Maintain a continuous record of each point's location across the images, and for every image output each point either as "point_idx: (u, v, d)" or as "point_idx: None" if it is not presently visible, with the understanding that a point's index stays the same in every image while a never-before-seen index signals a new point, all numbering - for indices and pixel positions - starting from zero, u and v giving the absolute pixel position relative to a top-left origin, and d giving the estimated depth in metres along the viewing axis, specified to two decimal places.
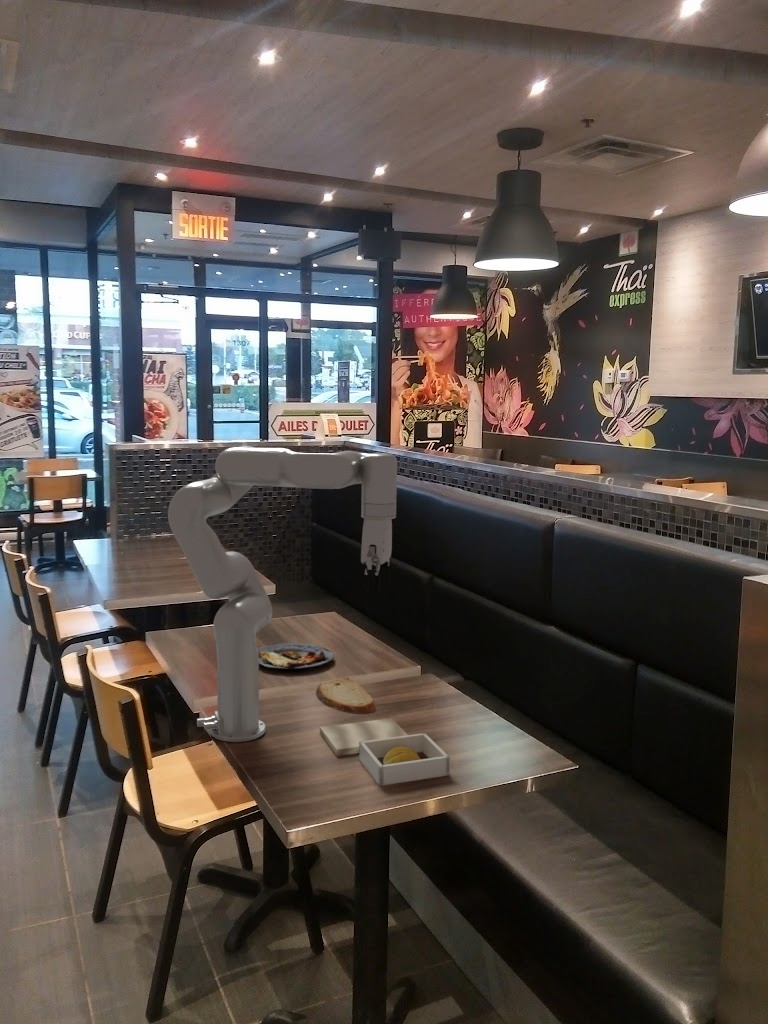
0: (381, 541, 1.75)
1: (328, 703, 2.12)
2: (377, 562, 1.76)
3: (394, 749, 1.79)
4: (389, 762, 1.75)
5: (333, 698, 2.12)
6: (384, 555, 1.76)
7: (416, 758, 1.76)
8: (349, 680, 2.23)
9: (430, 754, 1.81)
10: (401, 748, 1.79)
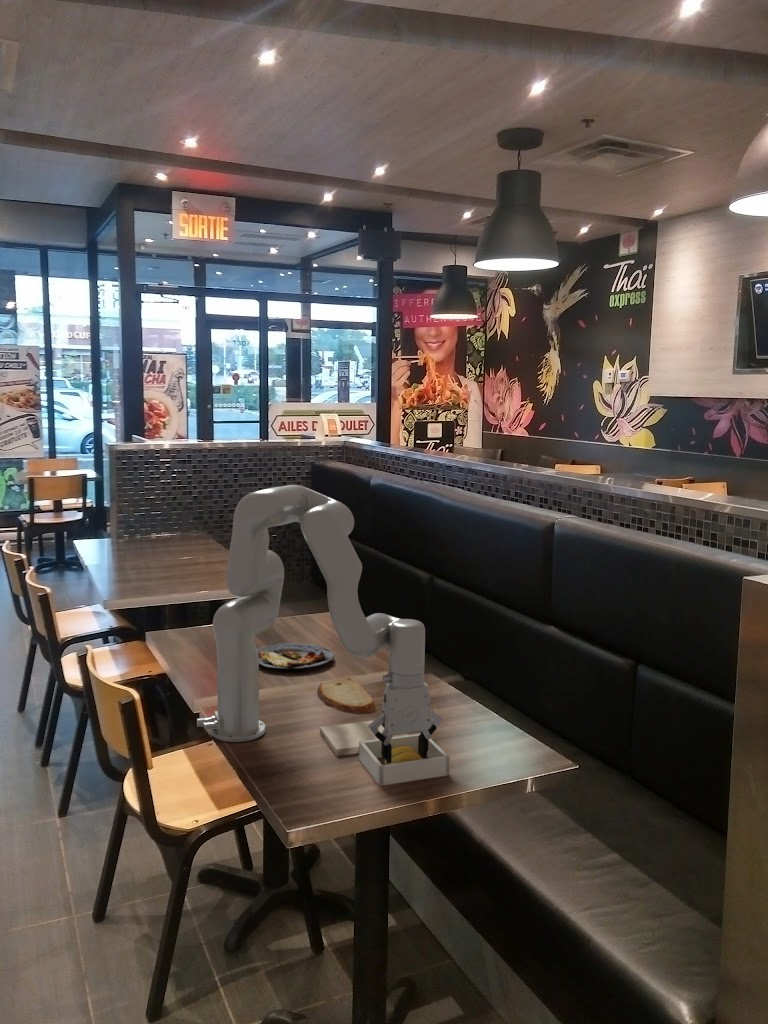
0: None
1: (328, 703, 2.12)
2: None
3: (396, 749, 1.79)
4: (391, 762, 1.75)
5: (333, 698, 2.12)
6: None
7: (418, 757, 1.75)
8: (350, 680, 2.23)
9: (430, 754, 1.81)
10: (403, 747, 1.79)
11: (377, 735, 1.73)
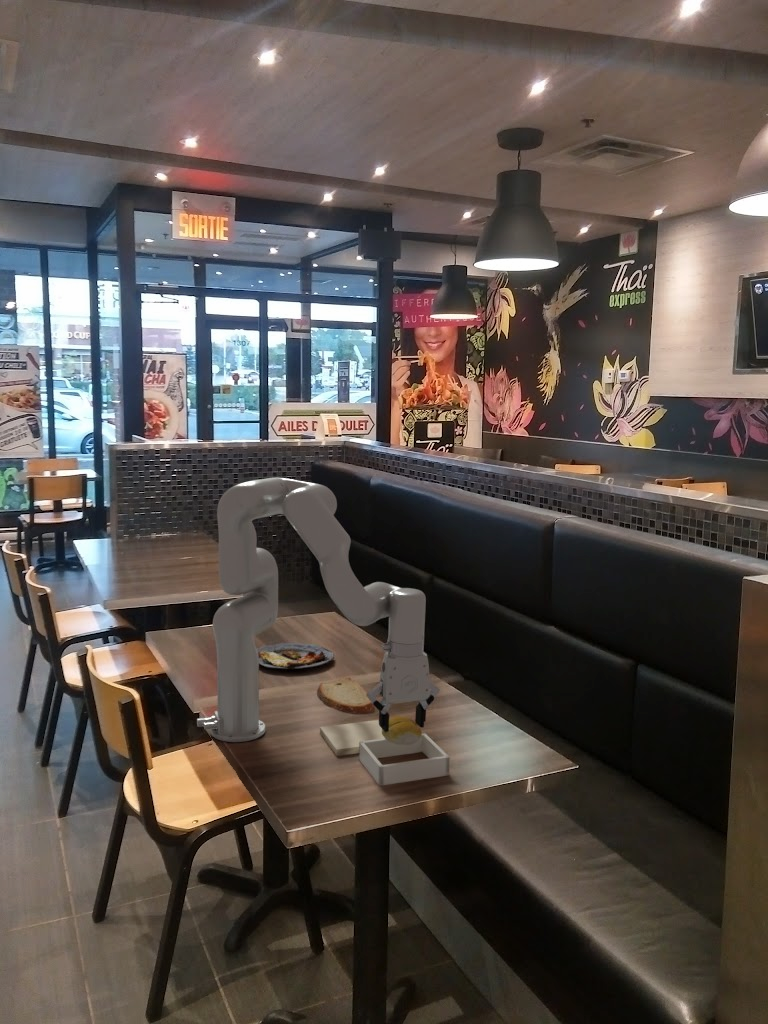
0: None
1: (328, 702, 2.12)
2: None
3: (393, 718, 1.78)
4: (388, 731, 1.74)
5: (333, 698, 2.12)
6: None
7: (415, 727, 1.75)
8: (350, 680, 2.23)
9: (430, 754, 1.81)
10: (400, 717, 1.78)
11: (375, 703, 1.73)
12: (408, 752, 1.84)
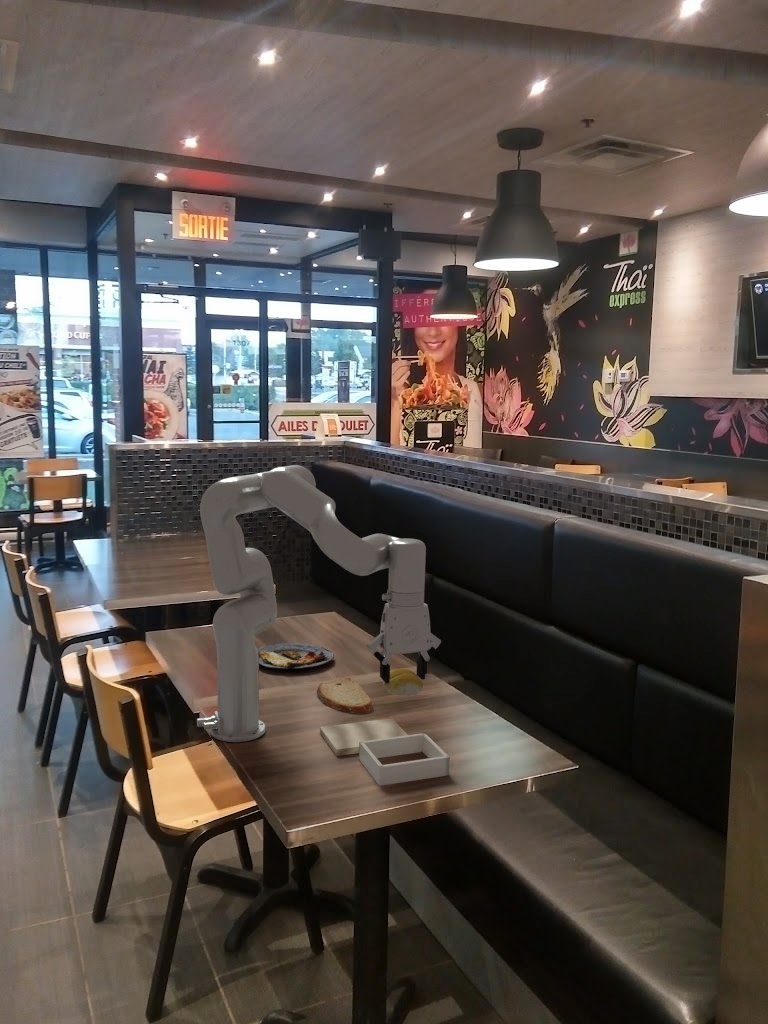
0: None
1: (326, 702, 2.12)
2: None
3: (394, 671, 1.77)
4: (389, 682, 1.73)
5: (332, 698, 2.12)
6: None
7: (416, 678, 1.74)
8: (350, 680, 2.22)
9: (430, 754, 1.81)
10: (401, 670, 1.77)
11: (375, 654, 1.72)
12: (408, 752, 1.84)
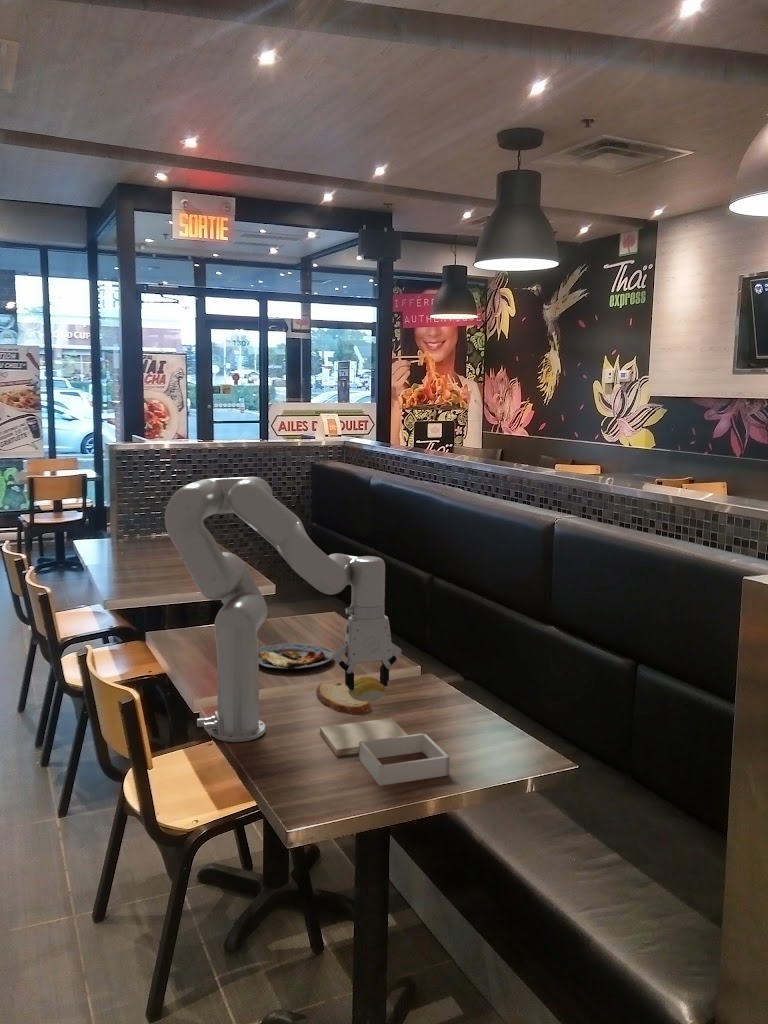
0: None
1: (325, 703, 2.12)
2: None
3: (359, 678, 1.91)
4: (353, 689, 1.87)
5: (330, 698, 2.12)
6: None
7: (379, 685, 1.88)
8: None
9: (430, 754, 1.81)
10: (365, 677, 1.91)
11: (340, 664, 1.86)
12: (408, 752, 1.84)
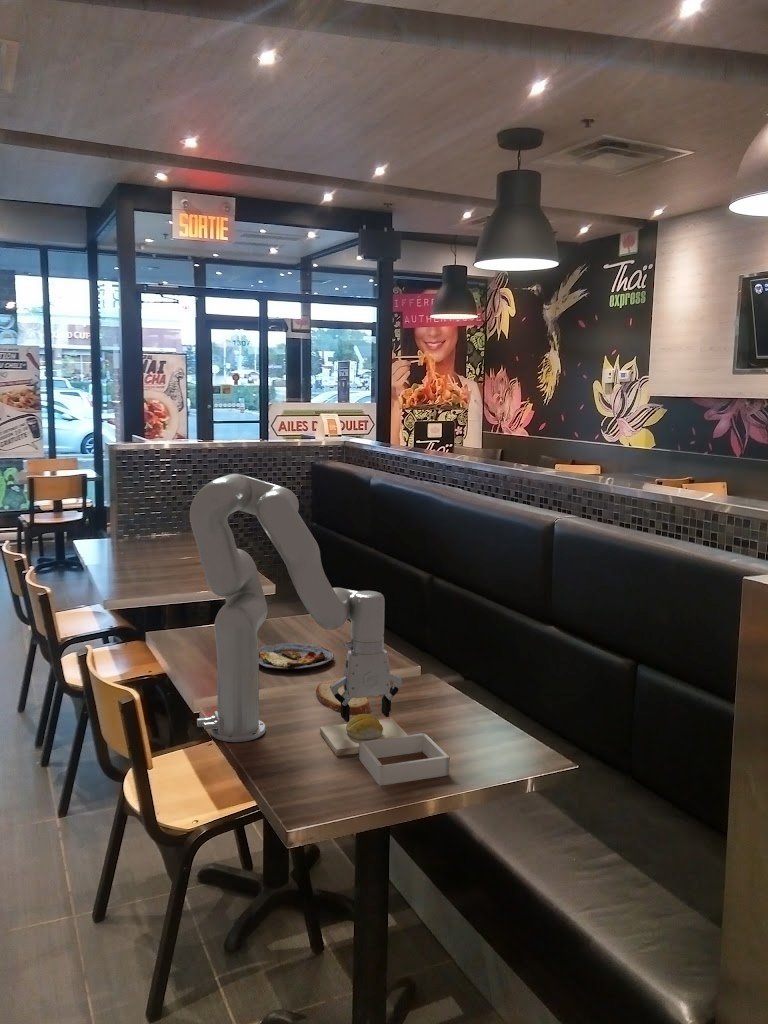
0: None
1: (324, 702, 2.12)
2: None
3: (356, 716, 1.93)
4: (351, 727, 1.88)
5: (329, 698, 2.12)
6: None
7: (376, 723, 1.89)
8: None
9: (430, 754, 1.81)
10: (363, 715, 1.92)
11: (336, 696, 1.87)
12: (408, 752, 1.84)
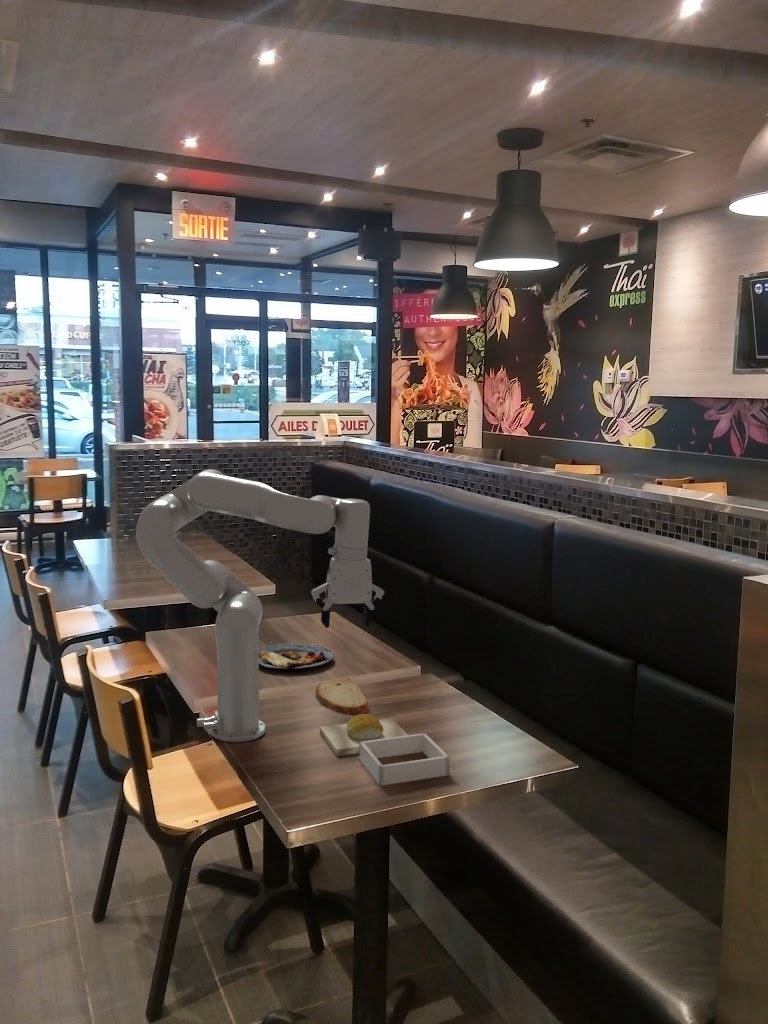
0: None
1: (323, 703, 2.12)
2: None
3: (357, 716, 1.93)
4: (351, 727, 1.88)
5: (328, 698, 2.12)
6: None
7: (377, 723, 1.89)
8: (350, 681, 2.22)
9: (430, 754, 1.81)
10: (363, 715, 1.92)
11: (317, 601, 1.87)
12: (408, 752, 1.84)
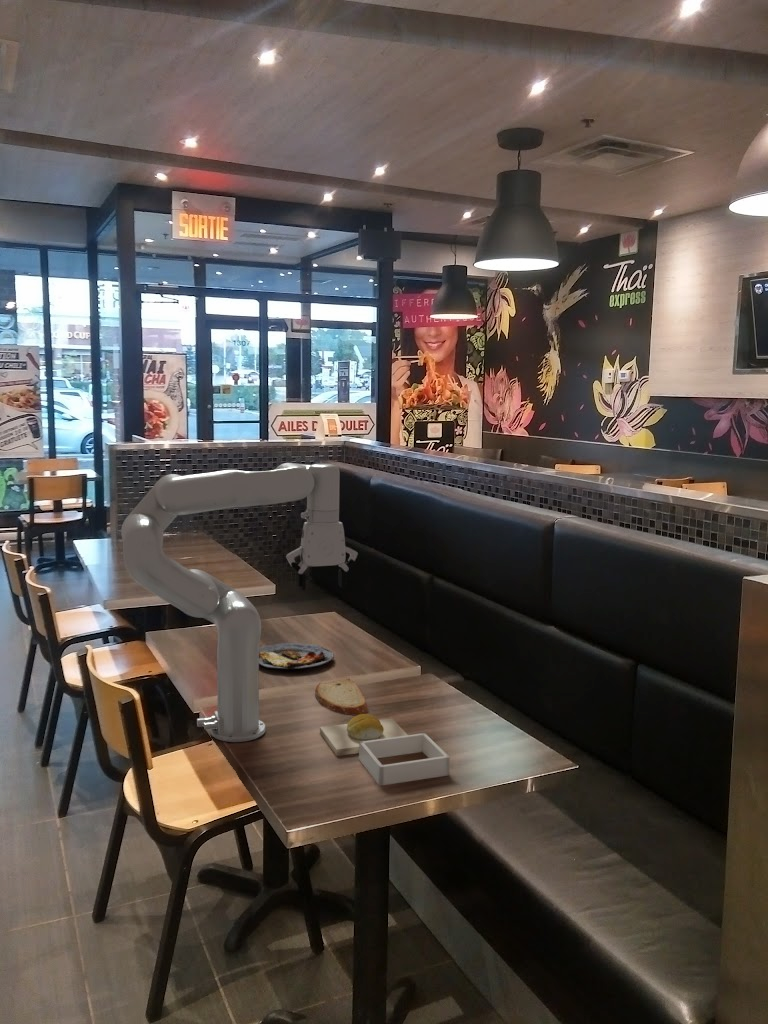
0: None
1: (322, 702, 2.12)
2: None
3: (357, 716, 1.93)
4: (352, 727, 1.88)
5: (327, 698, 2.12)
6: None
7: (377, 724, 1.89)
8: (349, 681, 2.22)
9: (430, 754, 1.81)
10: (364, 715, 1.92)
11: (292, 564, 1.92)
12: (408, 752, 1.84)
